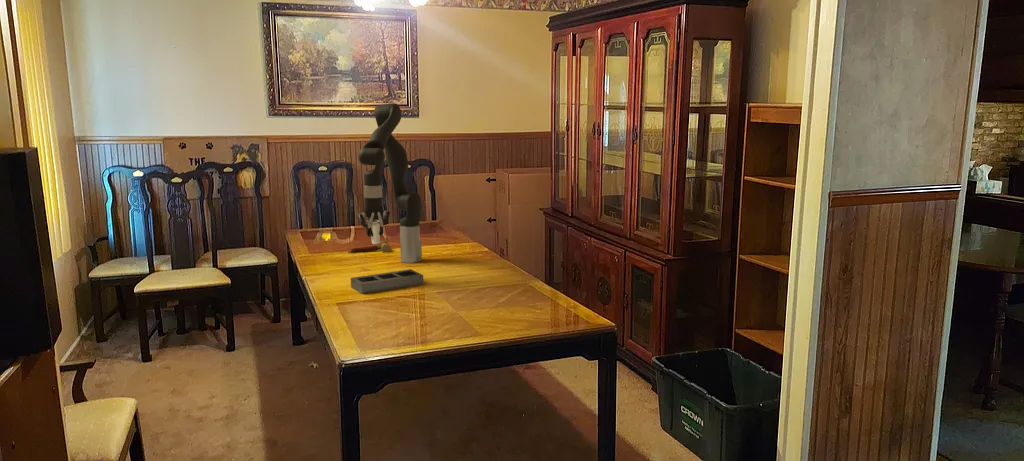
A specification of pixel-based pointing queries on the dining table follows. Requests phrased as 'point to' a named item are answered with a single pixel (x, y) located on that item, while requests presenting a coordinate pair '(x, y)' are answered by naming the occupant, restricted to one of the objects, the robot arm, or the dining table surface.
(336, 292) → the dining table surface
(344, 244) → the dining table surface
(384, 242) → the gavel
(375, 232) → the milkshake
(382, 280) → the three-window grey frame
